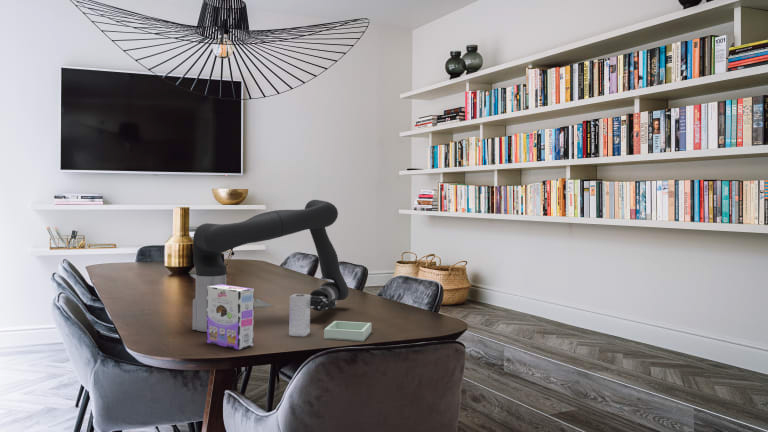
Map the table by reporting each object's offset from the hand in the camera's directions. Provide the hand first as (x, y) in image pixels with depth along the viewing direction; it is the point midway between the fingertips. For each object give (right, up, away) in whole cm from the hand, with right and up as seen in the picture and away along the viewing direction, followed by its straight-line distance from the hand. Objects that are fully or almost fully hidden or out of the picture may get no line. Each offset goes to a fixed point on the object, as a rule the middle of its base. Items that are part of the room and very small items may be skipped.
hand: (308, 306), depth 185 cm
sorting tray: (+14, -8, -9) cm, 18 cm away
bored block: (-2, -7, -8) cm, 11 cm away
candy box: (-19, -7, -22) cm, 31 cm away
